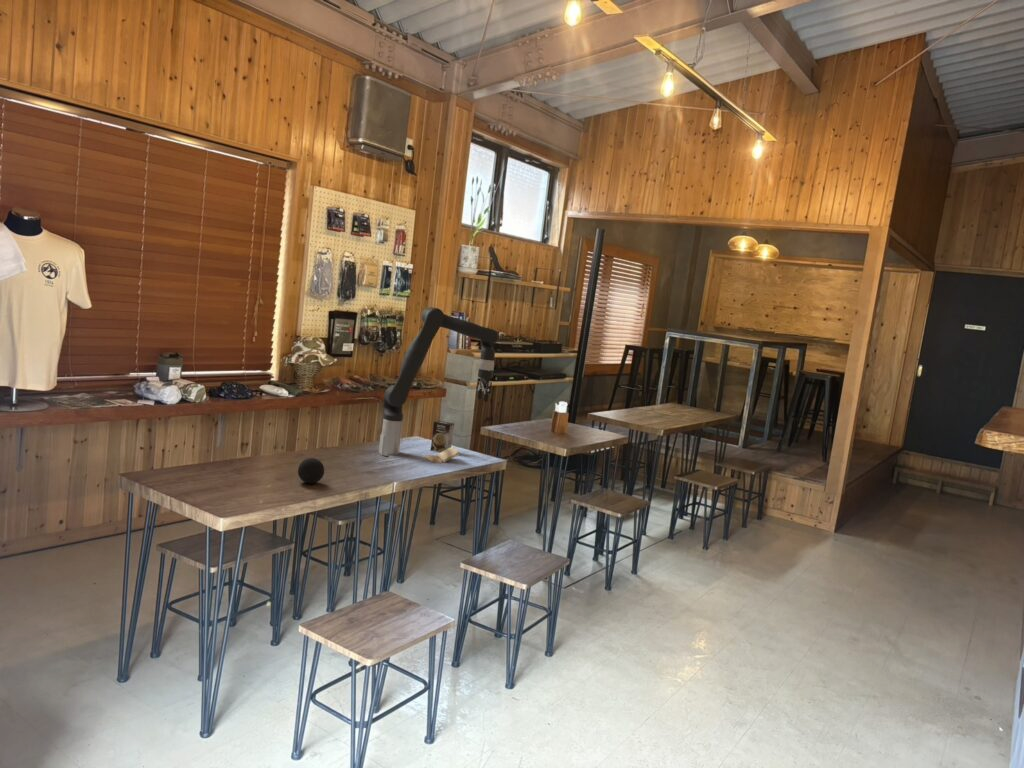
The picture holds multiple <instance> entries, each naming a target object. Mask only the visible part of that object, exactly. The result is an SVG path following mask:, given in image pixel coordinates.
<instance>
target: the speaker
mask: <svg viewBox="0 0 1024 768" xmlns="http://www.w3.org/2000/svg"><path fill="white" fill-rule="evenodd" d="M297 468H298V469H297V475H298V478H299V479H300V480H301V481H302V482H303V483H306V484H311V485H312V484H316V483H318V482H319V481H321V480H322V478H323V477H324V474H325V467H324V464H323V462H321V460H319V459H317V458H314V457H309V458H305V459H304V460H302V461H301V463H299V465H298V467H297Z"/></svg>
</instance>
